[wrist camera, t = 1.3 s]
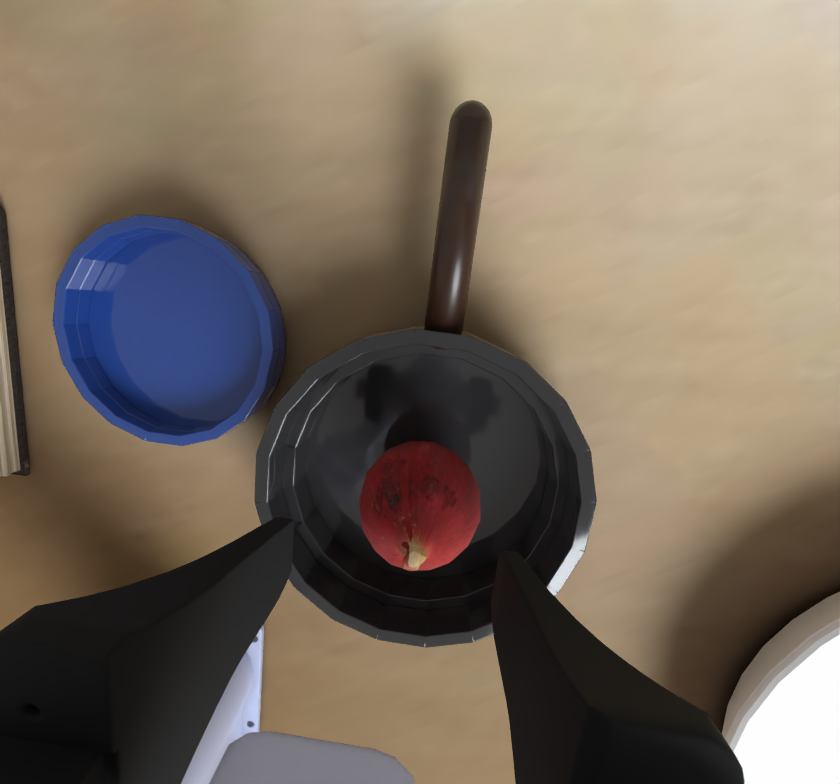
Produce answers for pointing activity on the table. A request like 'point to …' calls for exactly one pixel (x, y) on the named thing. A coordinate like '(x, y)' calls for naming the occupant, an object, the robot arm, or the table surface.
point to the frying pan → (432, 422)
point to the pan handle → (458, 217)
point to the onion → (419, 505)
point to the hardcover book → (10, 374)
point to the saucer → (168, 329)
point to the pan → (791, 703)
